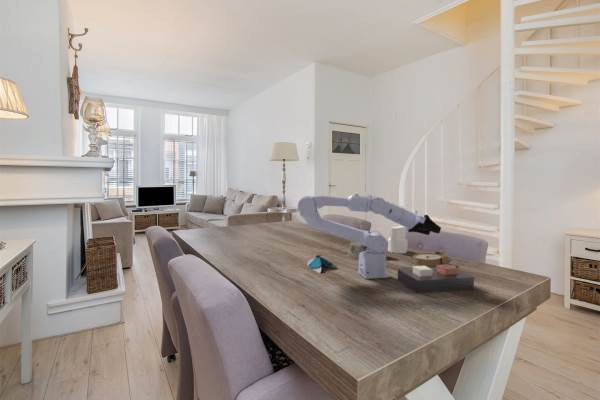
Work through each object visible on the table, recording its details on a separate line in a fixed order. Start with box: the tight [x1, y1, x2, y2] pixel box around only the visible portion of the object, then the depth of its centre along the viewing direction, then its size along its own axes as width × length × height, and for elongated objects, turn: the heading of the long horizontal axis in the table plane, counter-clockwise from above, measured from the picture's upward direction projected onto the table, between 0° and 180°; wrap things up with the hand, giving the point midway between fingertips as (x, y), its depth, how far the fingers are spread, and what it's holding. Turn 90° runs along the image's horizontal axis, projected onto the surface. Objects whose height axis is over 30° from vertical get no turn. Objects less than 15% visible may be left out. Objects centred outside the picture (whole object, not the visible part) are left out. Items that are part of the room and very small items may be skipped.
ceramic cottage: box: [346, 222, 388, 260], centre depth 138 cm, size 16×16×15 cm
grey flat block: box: [397, 267, 475, 294], centre depth 101 cm, size 20×12×4 cm, turn 101°
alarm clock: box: [411, 251, 452, 268], centre depth 126 cm, size 11×5×15 cm
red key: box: [437, 263, 458, 275], centre depth 102 cm, size 4×4×3 cm
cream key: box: [412, 265, 433, 277], centre depth 100 cm, size 4×4×3 cm
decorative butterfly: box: [306, 254, 338, 274], centre depth 120 cm, size 10×6×10 cm
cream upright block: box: [387, 225, 409, 254], centre depth 148 cm, size 9×9×12 cm
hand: (434, 231), depth 108 cm, fingers open, 7 cm apart
